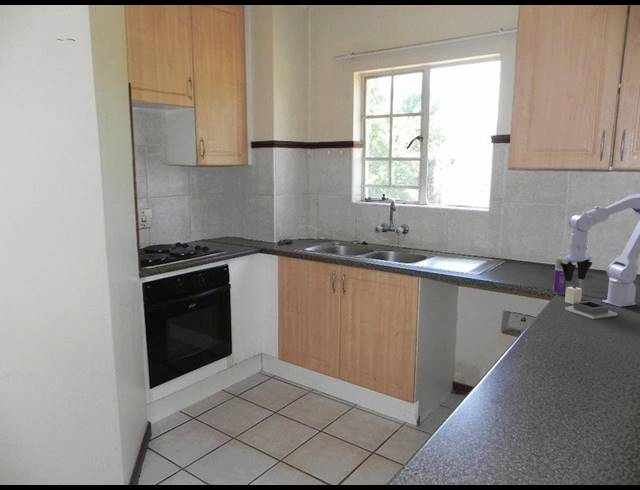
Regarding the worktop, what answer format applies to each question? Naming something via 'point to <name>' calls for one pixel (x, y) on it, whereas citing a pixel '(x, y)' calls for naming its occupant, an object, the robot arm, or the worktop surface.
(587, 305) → the socket plate
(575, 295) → the plug
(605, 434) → the worktop surface
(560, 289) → the container
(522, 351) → the worktop surface
